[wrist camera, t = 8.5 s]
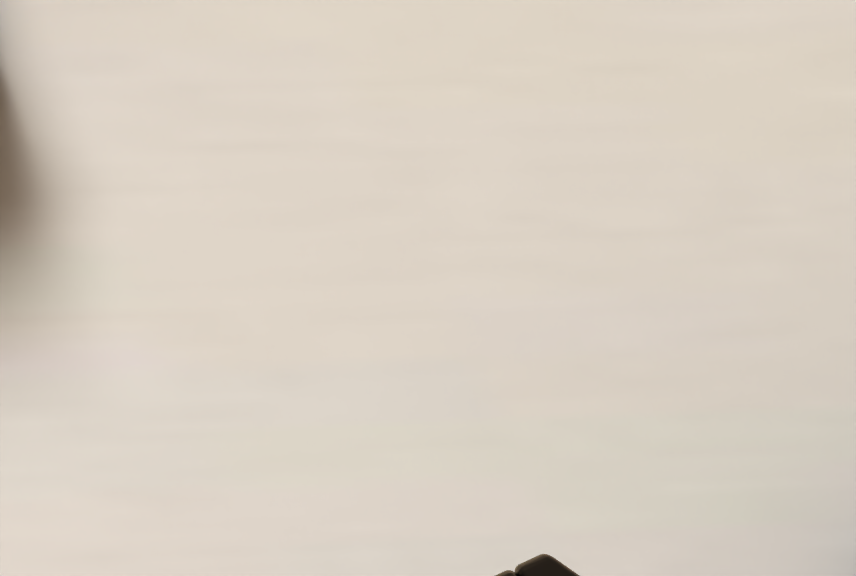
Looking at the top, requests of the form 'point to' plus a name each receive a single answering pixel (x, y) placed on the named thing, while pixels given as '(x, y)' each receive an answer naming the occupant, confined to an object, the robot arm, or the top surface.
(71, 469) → the top surface
